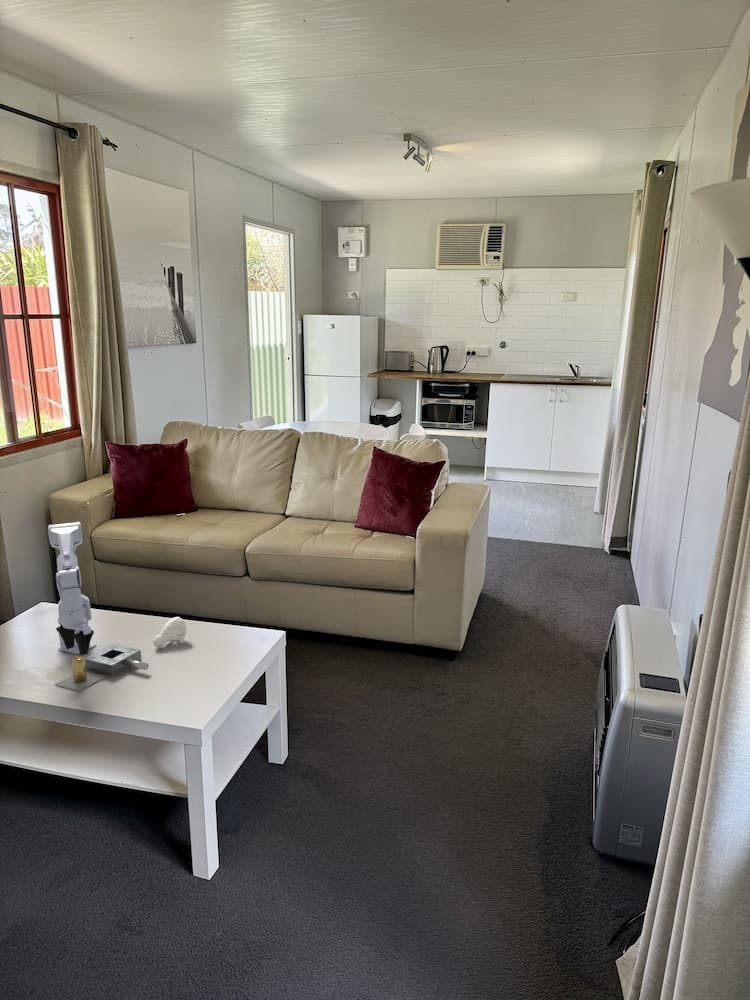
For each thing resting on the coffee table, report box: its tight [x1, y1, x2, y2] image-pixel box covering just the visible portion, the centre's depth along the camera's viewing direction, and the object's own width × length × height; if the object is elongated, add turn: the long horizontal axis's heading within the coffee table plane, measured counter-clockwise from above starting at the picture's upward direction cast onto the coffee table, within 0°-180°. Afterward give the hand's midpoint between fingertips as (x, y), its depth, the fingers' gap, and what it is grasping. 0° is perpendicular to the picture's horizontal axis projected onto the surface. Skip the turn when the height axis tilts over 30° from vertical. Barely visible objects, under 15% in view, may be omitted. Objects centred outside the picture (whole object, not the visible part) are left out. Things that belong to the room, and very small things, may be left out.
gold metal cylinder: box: [71, 655, 87, 683], centre depth 210 cm, size 4×4×7 cm
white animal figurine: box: [152, 616, 187, 650], centre depth 235 cm, size 6×8×12 cm
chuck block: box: [84, 643, 149, 678], centre depth 219 cm, size 20×12×4 cm, turn 64°
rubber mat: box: [54, 671, 107, 693], centre depth 211 cm, size 10×10×1 cm
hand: (77, 651), depth 209 cm, fingers open, 7 cm apart
